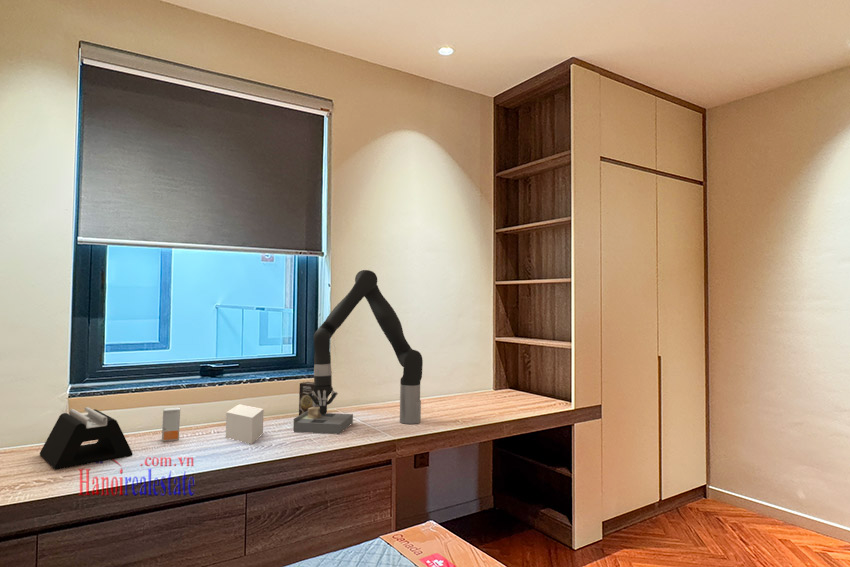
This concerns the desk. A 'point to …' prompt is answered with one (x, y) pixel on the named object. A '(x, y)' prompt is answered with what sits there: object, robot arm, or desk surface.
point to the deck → (322, 423)
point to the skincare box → (171, 424)
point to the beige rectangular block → (244, 423)
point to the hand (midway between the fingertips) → (323, 414)
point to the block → (314, 412)
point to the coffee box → (306, 397)
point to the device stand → (84, 440)
